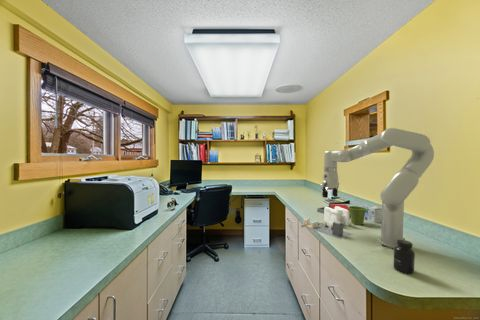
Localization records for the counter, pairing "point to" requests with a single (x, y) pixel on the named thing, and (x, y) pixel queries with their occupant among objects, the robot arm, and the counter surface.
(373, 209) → the light bulb box
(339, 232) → the block
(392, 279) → the counter surface
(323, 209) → the tray
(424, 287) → the counter surface
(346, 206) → the red device housing
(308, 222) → the board
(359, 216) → the plant pot
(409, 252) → the supplement bottle
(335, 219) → the cable organizer
